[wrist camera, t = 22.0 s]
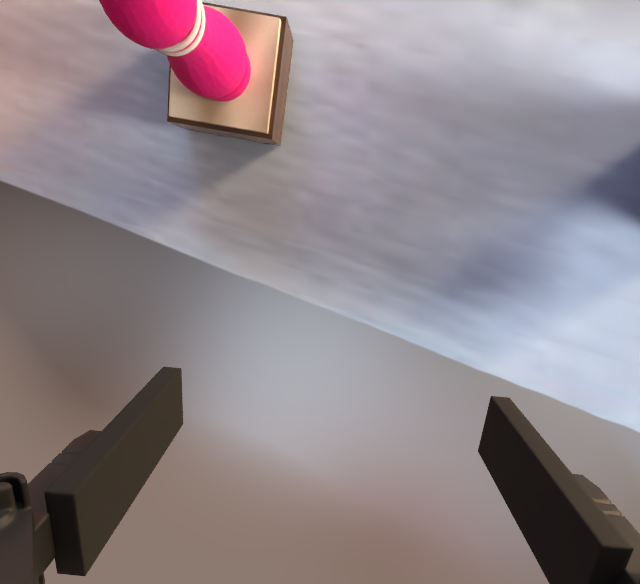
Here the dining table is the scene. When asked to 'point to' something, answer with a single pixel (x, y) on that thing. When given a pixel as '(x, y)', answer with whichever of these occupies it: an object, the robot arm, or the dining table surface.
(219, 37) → the pepper mill
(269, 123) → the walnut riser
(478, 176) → the dining table surface
